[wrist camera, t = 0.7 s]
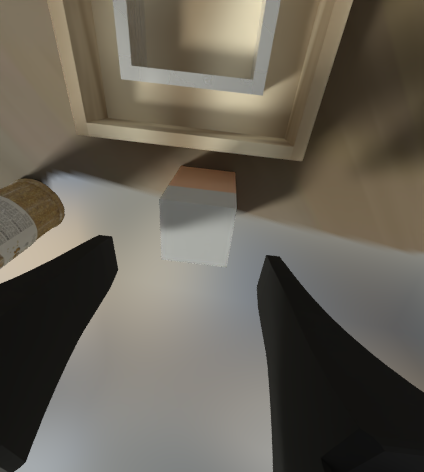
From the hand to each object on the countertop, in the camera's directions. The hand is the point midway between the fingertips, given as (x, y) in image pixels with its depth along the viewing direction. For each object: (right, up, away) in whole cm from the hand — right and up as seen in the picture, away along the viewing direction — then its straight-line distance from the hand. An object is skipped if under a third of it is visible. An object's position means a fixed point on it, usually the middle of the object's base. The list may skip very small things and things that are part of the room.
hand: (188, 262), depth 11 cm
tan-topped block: (+1, +5, +7) cm, 8 cm away
